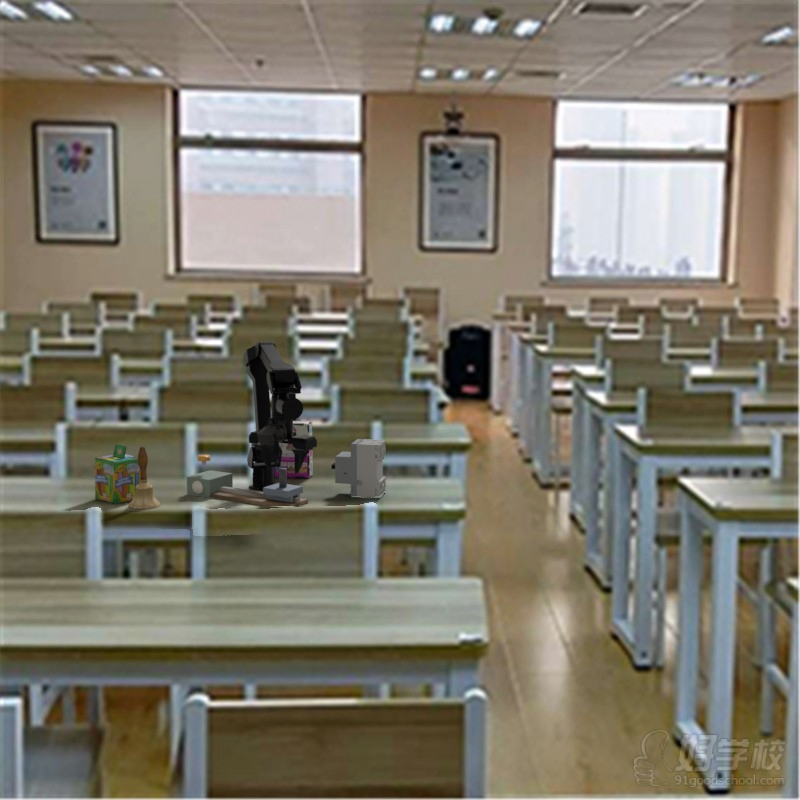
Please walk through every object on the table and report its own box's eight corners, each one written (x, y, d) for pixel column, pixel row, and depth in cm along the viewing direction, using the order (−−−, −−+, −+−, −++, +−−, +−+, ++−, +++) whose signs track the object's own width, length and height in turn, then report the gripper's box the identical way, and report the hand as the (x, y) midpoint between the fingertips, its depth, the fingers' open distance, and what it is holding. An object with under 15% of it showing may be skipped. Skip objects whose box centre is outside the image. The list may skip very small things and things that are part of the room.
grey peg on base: (278, 494, 318) (278, 464, 317) (302, 498, 314) (302, 468, 313) (263, 499, 312) (262, 469, 311) (287, 503, 308) (287, 472, 307)
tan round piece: (203, 462, 328) (202, 454, 328) (213, 463, 326) (213, 455, 326) (194, 464, 325) (194, 456, 325) (204, 466, 323) (204, 457, 323)
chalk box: (94, 499, 317) (92, 445, 315) (122, 493, 324) (120, 441, 322) (115, 504, 311) (113, 450, 309) (143, 498, 318) (142, 445, 316)
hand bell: (152, 510, 306) (151, 450, 303) (123, 508, 307) (121, 448, 305) (165, 502, 314) (164, 444, 311) (136, 501, 315) (134, 443, 313)
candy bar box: (313, 475, 350) (313, 421, 347) (309, 478, 345) (309, 423, 343) (276, 473, 351) (276, 419, 349) (272, 477, 346) (272, 422, 344)
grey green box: (210, 487, 332) (210, 470, 331) (232, 490, 328) (232, 473, 328) (186, 494, 323) (185, 476, 323) (208, 498, 319) (208, 480, 319)
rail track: (231, 491, 328) (231, 483, 327) (308, 502, 315) (308, 494, 315) (210, 497, 320) (210, 489, 320) (288, 509, 307) (288, 501, 307)
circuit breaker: (336, 490, 330) (336, 437, 328) (385, 492, 327) (385, 440, 325) (329, 496, 323) (329, 442, 321) (379, 498, 320) (379, 445, 318)
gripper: (235, 414, 308) (236, 472, 310) (293, 421, 298) (293, 481, 301) (261, 409, 317) (261, 465, 320) (318, 415, 308) (318, 473, 310)
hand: (282, 471), depth 312 cm, fingers open, 9 cm apart
